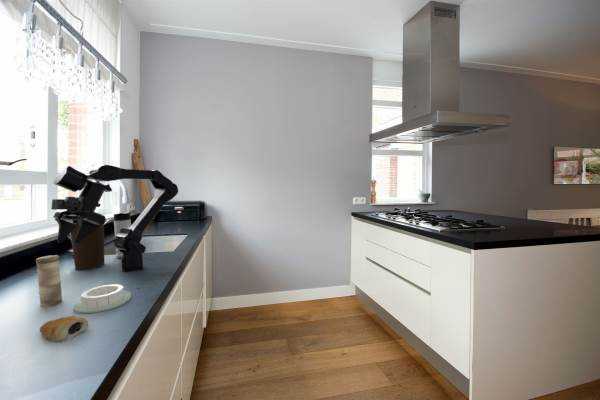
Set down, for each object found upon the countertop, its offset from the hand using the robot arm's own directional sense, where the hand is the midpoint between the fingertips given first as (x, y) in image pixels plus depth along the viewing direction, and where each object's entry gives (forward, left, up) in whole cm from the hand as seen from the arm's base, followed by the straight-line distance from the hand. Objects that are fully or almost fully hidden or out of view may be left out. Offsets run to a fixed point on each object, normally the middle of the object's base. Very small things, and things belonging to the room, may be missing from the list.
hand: (67, 242), depth 88 cm
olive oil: (-4, -24, -15) cm, 28 cm away
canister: (+3, +12, -15) cm, 19 cm away
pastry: (-2, +34, -15) cm, 37 cm away
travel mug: (-16, -32, -15) cm, 39 cm away
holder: (-9, +20, -14) cm, 26 cm away
